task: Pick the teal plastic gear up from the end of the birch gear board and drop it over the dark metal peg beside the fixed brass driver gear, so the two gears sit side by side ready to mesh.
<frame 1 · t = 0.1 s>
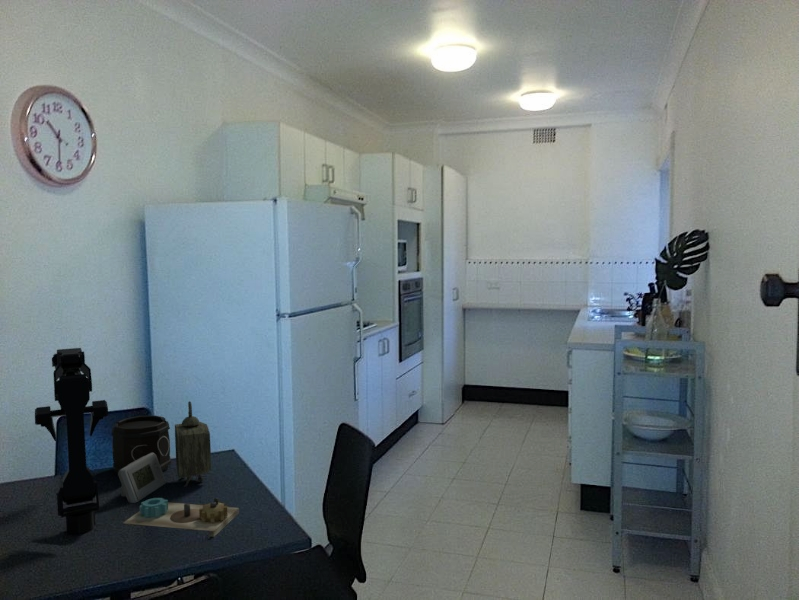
hand: (73, 437, 187), 15 cm above the table, tool pointing down, fingers open, 9 cm apart
teal gear: (154, 513, 168), point 1 cm above the table, touching gear board
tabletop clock: (194, 483, 193), on the table
digital clock: (143, 497, 183), on the table
gear board: (182, 520, 166), on the table
brown round pot: (143, 470, 205), on the table
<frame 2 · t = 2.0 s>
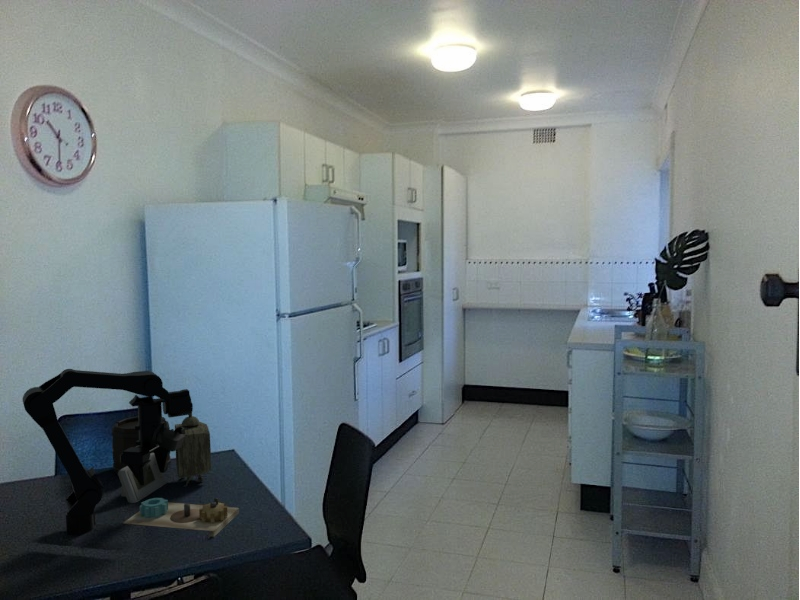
hand: (152, 478, 167), 11 cm above the table, tool pointing down, fingers open, 9 cm apart
nothing on the table moved.
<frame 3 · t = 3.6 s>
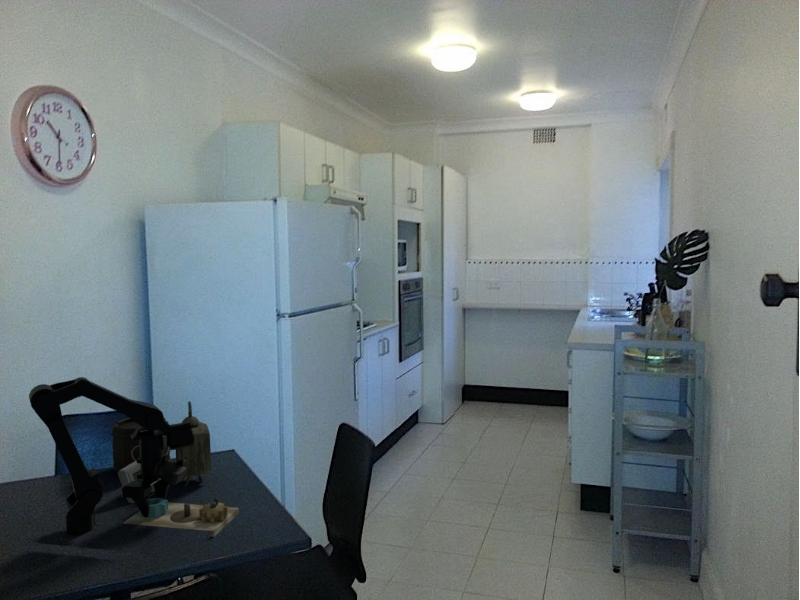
hand: (154, 511, 168), 2 cm above the table, tool pointing down, fingers closed on teal gear, 7 cm apart
teal gear: (154, 513, 168), point 2 cm above the table, touching gear board, gripper
everything else where it was.
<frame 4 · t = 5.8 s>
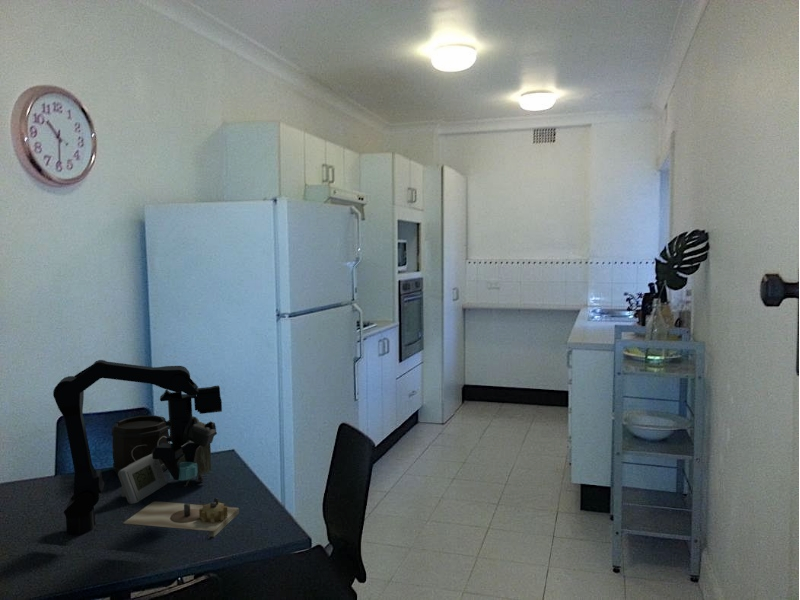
hand: (183, 474, 165), 12 cm above the table, tool pointing down, fingers closed on teal gear, 7 cm apart
teal gear: (184, 476, 165), point 12 cm above the table, touching gripper
everything else where it was.
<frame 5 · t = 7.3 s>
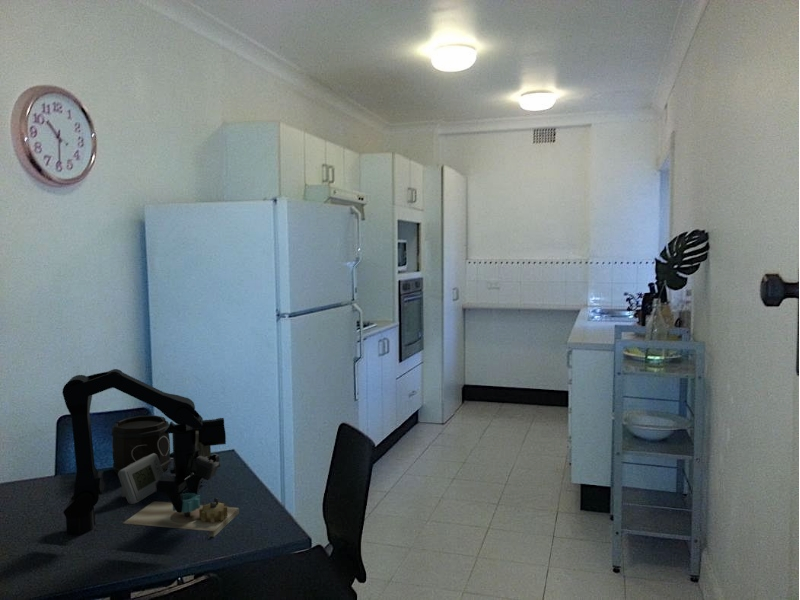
hand: (186, 506, 166), 4 cm above the table, tool pointing down, fingers closed on teal gear, 7 cm apart
teal gear: (186, 508, 166), point 4 cm above the table, touching gripper
everything else where it was.
when the fingers open (3 cm above the table, at t = 8.3 s): teal gear drops 1 cm, resting on gear board.
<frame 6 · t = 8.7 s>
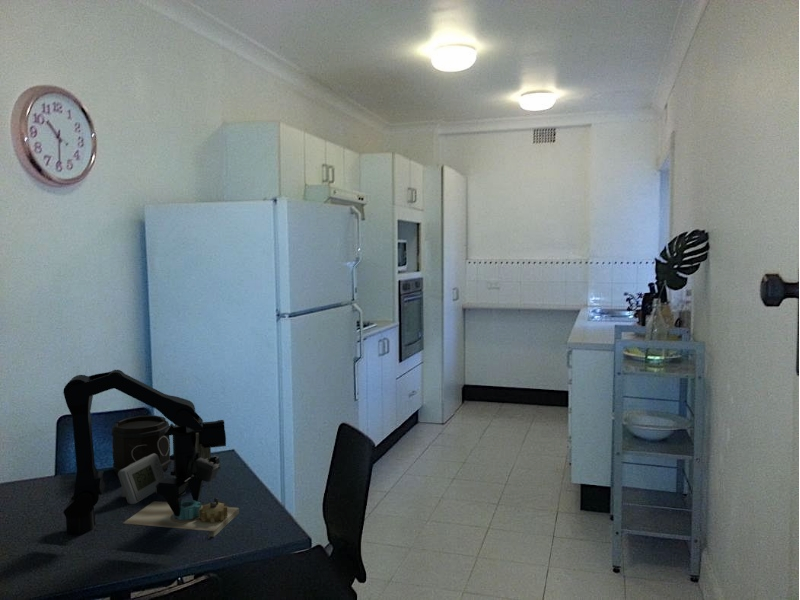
hand: (187, 508, 166), 3 cm above the table, tool pointing down, fingers open, 9 cm apart
teal gear: (187, 515, 166), point 2 cm above the table, touching gear board
everything else where it was.
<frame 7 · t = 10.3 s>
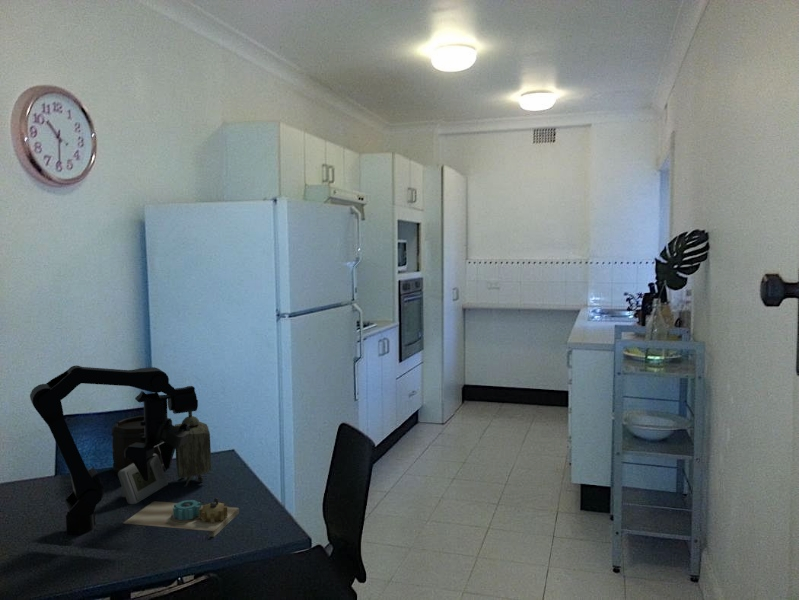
hand: (157, 474, 168), 11 cm above the table, tool pointing down, fingers open, 9 cm apart
nothing on the table moved.
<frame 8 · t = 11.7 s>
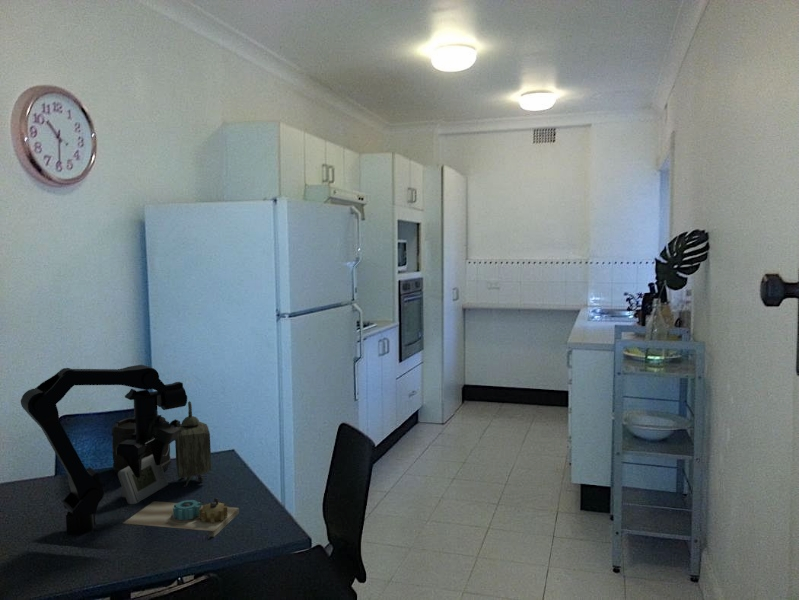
hand: (148, 470, 169), 12 cm above the table, tool pointing down, fingers open, 9 cm apart
at the end: teal gear 0.0 cm from the target spot, point 1.6 cm above the table; the gripper is holding nothing; teal gear tilted 0° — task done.
